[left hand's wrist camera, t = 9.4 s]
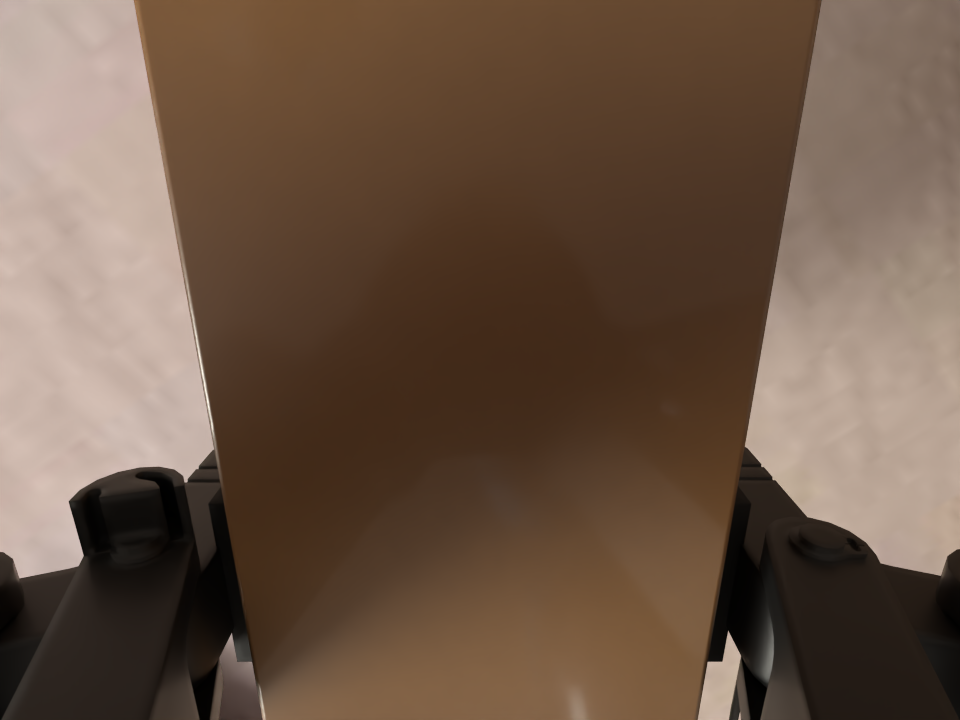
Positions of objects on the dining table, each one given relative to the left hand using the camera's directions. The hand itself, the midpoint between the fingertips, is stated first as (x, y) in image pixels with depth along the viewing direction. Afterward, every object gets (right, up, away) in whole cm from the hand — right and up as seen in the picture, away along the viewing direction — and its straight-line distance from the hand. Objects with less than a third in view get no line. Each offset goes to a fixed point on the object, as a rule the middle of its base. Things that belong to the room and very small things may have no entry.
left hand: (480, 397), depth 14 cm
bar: (0, +20, -7) cm, 21 cm away
